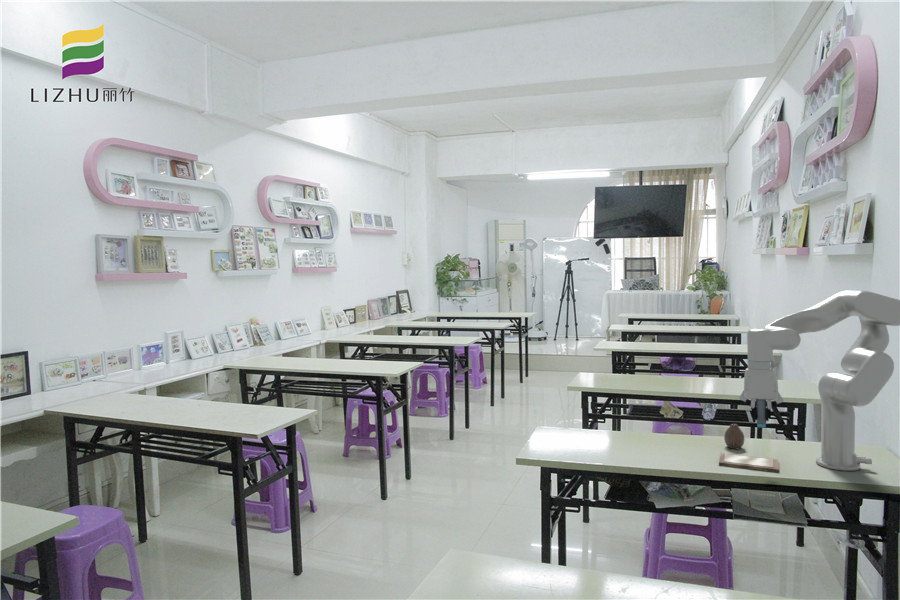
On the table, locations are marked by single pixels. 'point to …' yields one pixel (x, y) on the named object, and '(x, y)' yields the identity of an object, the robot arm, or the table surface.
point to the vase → (734, 436)
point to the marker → (761, 413)
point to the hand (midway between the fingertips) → (761, 419)
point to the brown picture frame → (749, 462)
